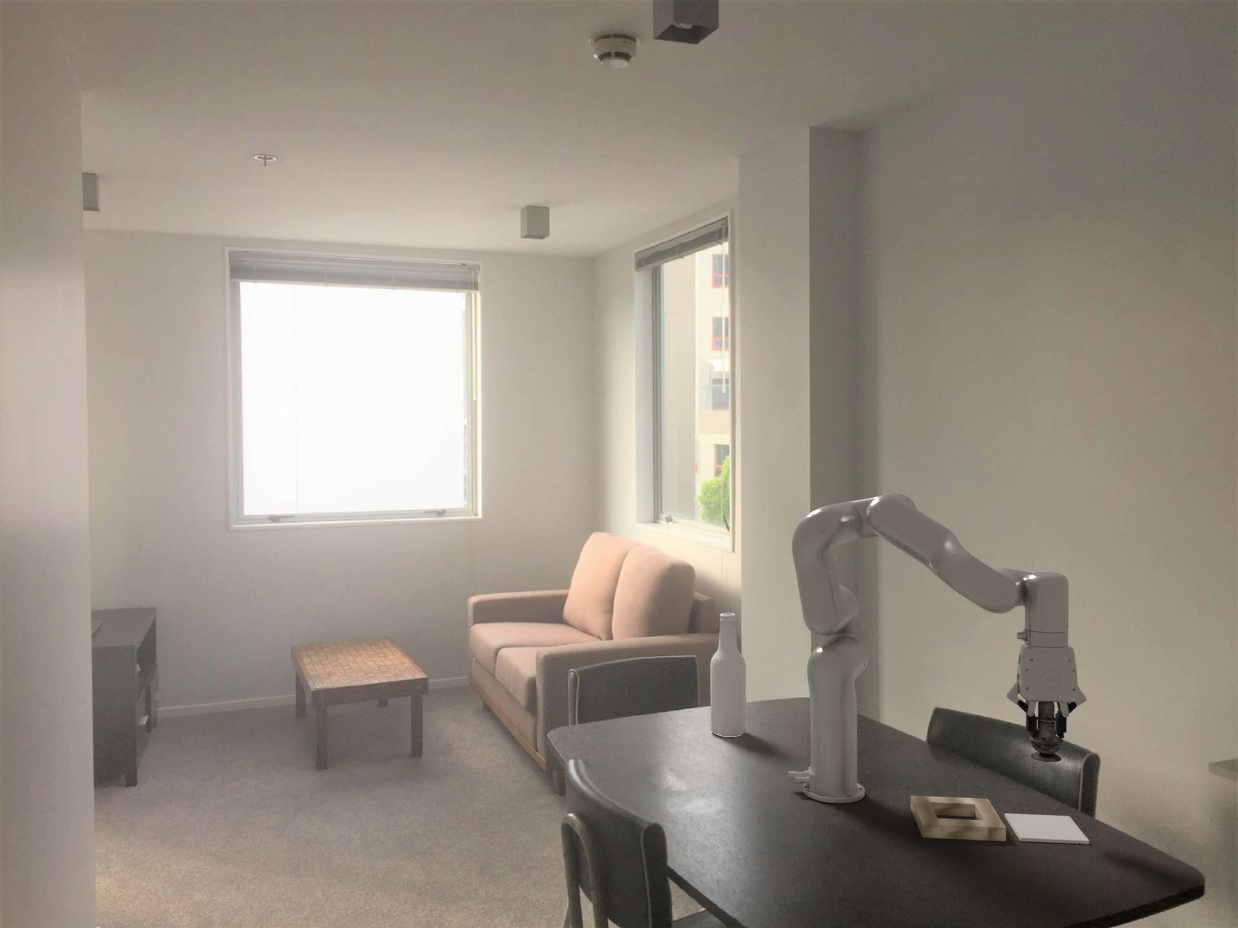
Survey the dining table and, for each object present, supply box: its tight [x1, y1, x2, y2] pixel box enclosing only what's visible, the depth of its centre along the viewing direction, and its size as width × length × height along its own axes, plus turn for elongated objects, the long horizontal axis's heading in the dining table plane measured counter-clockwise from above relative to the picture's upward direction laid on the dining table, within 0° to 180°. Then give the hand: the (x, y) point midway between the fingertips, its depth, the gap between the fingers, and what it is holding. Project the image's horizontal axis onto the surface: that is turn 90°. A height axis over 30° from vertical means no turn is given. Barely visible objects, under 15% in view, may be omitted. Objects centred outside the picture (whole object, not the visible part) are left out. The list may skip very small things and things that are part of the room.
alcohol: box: [709, 612, 747, 736], centre depth 253 cm, size 9×9×30 cm
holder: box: [910, 795, 1007, 842], centre depth 194 cm, size 15×15×2 cm
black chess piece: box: [1028, 702, 1064, 763], centre depth 190 cm, size 6×6×12 cm
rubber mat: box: [1004, 813, 1090, 845], centre depth 191 cm, size 12×12×1 cm
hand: (1046, 734), depth 190 cm, fingers closed on black chess piece, 4 cm apart
